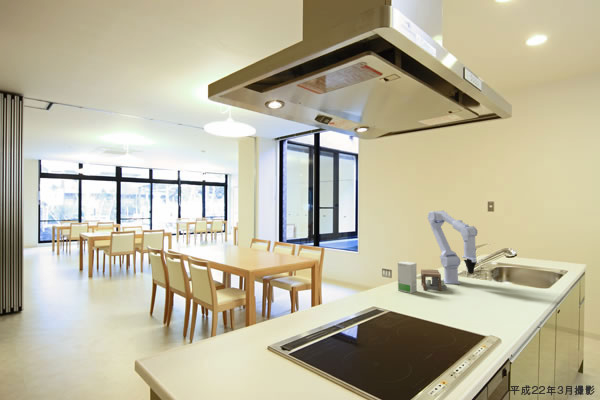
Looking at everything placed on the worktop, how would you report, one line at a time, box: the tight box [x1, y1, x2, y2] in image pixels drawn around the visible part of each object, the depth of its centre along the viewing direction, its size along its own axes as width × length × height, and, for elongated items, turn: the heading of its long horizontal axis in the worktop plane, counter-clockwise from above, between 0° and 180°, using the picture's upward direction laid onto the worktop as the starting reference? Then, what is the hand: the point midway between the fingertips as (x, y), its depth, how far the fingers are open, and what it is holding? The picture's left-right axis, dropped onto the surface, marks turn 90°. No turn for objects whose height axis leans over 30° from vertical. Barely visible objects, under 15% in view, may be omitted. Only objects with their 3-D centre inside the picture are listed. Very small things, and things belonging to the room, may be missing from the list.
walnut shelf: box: [420, 269, 442, 292], centre depth 179 cm, size 12×9×9 cm
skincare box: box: [397, 260, 418, 294], centre depth 175 cm, size 8×7×16 cm
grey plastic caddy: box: [426, 277, 448, 291], centre depth 178 cm, size 5×11×6 cm, turn 74°
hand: (470, 273), depth 175 cm, fingers closed
